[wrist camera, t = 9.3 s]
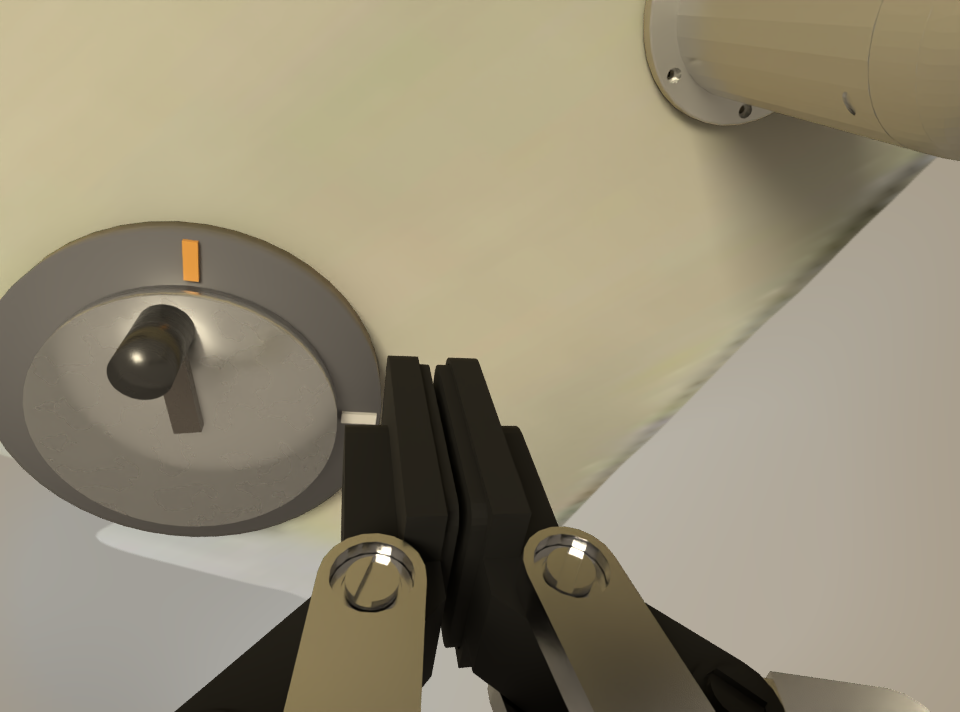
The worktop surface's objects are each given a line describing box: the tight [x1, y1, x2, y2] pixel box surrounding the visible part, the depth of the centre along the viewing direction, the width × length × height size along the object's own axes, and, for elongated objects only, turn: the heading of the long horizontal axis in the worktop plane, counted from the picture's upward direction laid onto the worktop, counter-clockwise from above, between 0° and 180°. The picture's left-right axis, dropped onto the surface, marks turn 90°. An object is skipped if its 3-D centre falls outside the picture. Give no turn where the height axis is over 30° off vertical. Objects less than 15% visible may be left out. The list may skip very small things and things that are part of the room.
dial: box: [23, 285, 337, 527], centre depth 36 cm, size 18×18×6 cm
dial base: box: [0, 221, 381, 537], centre depth 39 cm, size 24×24×2 cm
